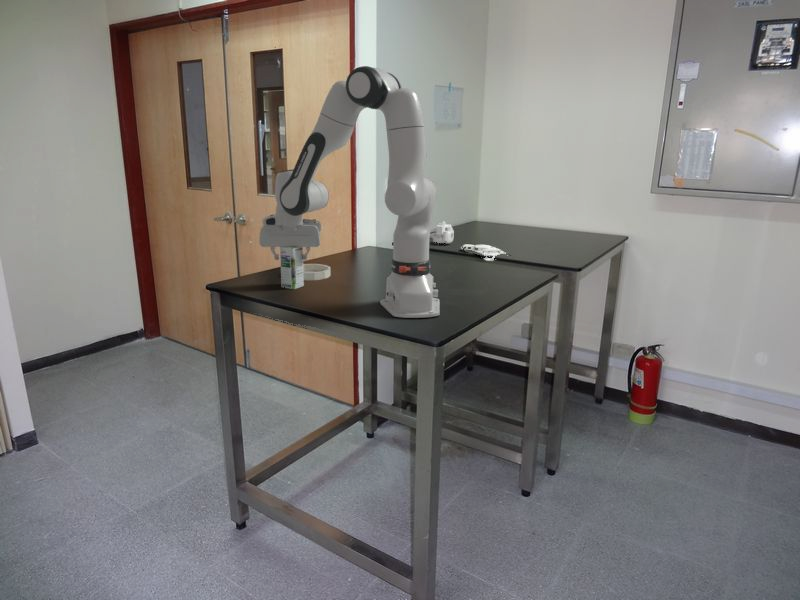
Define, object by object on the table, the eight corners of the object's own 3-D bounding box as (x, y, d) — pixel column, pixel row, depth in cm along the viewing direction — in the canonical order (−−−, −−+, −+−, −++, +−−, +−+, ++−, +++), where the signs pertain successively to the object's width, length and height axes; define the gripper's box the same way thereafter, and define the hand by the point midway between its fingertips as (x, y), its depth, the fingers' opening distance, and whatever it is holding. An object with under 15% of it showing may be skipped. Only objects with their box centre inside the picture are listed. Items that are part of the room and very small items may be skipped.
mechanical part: (435, 242, 279) (436, 219, 276) (456, 245, 273) (457, 221, 270) (424, 245, 270) (425, 221, 267) (446, 248, 264) (447, 224, 261)
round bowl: (330, 281, 197) (330, 272, 196) (285, 281, 195) (285, 273, 194) (330, 271, 212) (330, 263, 211) (289, 272, 210) (288, 264, 209)
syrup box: (280, 288, 186) (278, 246, 182) (291, 284, 192) (289, 243, 188) (294, 290, 184) (292, 248, 180) (304, 286, 189) (303, 245, 185)
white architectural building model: (472, 262, 235) (472, 252, 234) (459, 251, 259) (459, 242, 258) (522, 261, 238) (523, 251, 237) (505, 251, 262) (505, 242, 260)
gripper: (321, 218, 186) (321, 257, 190) (260, 217, 183) (261, 257, 187) (320, 220, 180) (321, 261, 183) (257, 220, 177) (259, 261, 181)
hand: (290, 259), depth 185 cm, fingers open, 8 cm apart
